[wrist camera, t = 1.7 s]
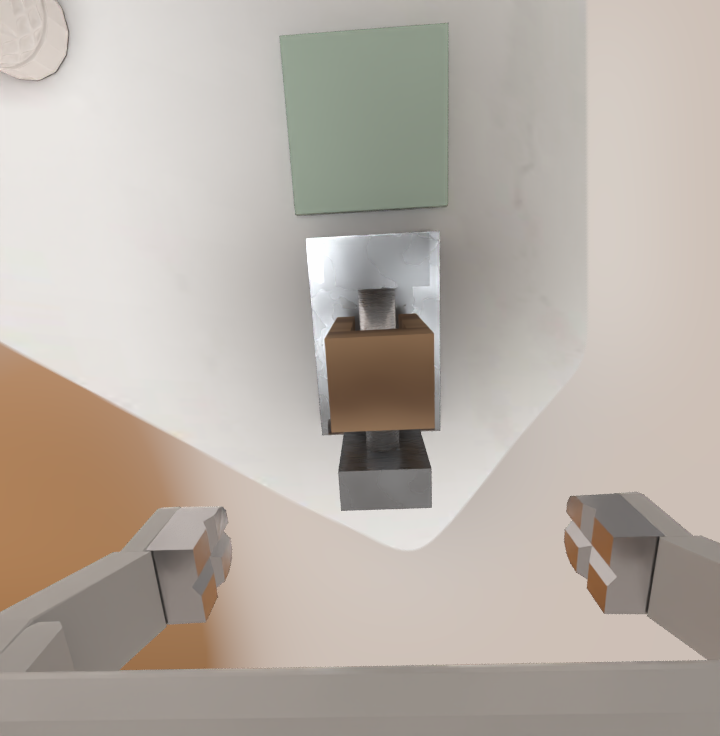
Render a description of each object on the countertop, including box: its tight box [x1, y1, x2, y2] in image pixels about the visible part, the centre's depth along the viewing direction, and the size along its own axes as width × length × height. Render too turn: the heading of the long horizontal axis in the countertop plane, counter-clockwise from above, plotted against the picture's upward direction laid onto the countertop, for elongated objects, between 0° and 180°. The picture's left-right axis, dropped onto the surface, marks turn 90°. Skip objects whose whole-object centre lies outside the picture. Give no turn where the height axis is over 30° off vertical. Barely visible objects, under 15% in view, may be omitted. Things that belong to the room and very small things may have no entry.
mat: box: [279, 23, 448, 215], centre depth 30 cm, size 12×12×1 cm
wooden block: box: [324, 313, 435, 432], centre depth 24 cm, size 5×5×8 cm
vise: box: [306, 231, 440, 511], centre depth 28 cm, size 16×10×15 cm, turn 3°
